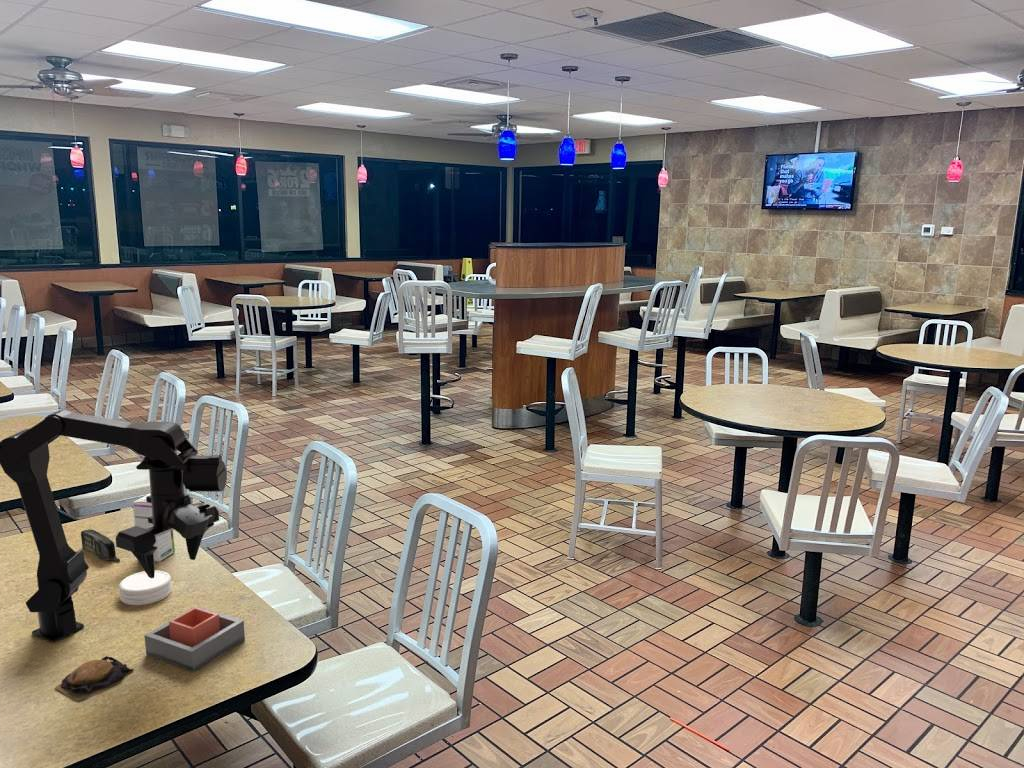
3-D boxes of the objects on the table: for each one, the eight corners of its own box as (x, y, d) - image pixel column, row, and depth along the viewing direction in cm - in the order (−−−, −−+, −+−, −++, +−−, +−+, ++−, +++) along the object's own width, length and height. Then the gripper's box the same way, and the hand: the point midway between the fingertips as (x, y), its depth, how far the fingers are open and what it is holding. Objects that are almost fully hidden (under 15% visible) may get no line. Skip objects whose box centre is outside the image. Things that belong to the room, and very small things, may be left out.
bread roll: (79, 707, 126) (77, 687, 125) (51, 690, 130) (48, 670, 129) (139, 675, 134) (138, 656, 134) (111, 660, 139) (109, 642, 138)
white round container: (114, 593, 163) (112, 578, 162) (163, 580, 169) (162, 565, 169) (127, 611, 155) (126, 595, 155) (178, 596, 162) (177, 581, 161)
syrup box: (160, 562, 177) (154, 503, 174) (137, 560, 178) (131, 500, 176) (175, 552, 183) (170, 494, 180) (153, 550, 184) (148, 492, 181)
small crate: (171, 646, 141) (168, 621, 140) (197, 631, 146) (195, 607, 145) (194, 654, 138) (192, 629, 137) (220, 638, 143) (218, 614, 142)
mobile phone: (77, 530, 184) (107, 544, 175) (90, 526, 186) (121, 540, 177) (80, 549, 185) (110, 565, 176) (93, 545, 187) (123, 560, 178)
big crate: (146, 655, 140) (144, 635, 139) (199, 625, 150) (197, 606, 149) (193, 672, 134) (191, 651, 134) (244, 640, 145) (243, 620, 144)
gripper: (152, 515, 131) (158, 599, 134) (237, 484, 147) (241, 559, 151) (110, 502, 136) (117, 583, 140) (197, 474, 153) (201, 547, 156)
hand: (172, 568), depth 146 cm, fingers open, 9 cm apart
